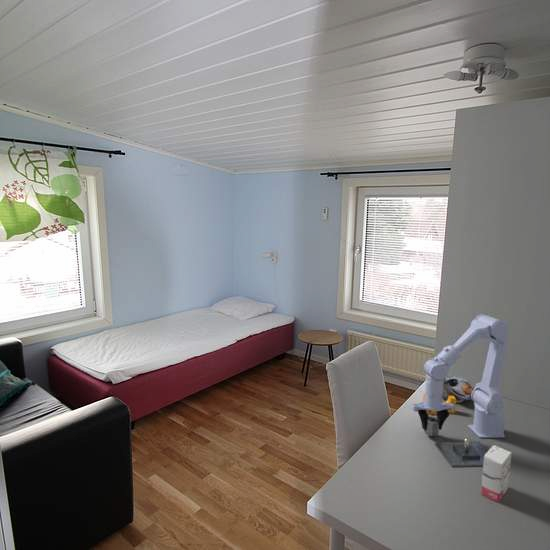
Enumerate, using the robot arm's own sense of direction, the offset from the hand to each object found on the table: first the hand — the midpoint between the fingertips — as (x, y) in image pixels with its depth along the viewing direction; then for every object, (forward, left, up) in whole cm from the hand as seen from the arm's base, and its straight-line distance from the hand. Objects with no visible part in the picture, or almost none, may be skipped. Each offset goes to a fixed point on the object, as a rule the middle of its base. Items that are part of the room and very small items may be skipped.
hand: (431, 428), depth 135 cm
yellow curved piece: (-11, -17, -3) cm, 21 cm away
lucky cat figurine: (-24, -27, -3) cm, 37 cm away
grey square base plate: (-7, +11, -3) cm, 13 cm away
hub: (0, 0, -1) cm, 1 cm away
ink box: (-6, +28, -3) cm, 29 cm away
